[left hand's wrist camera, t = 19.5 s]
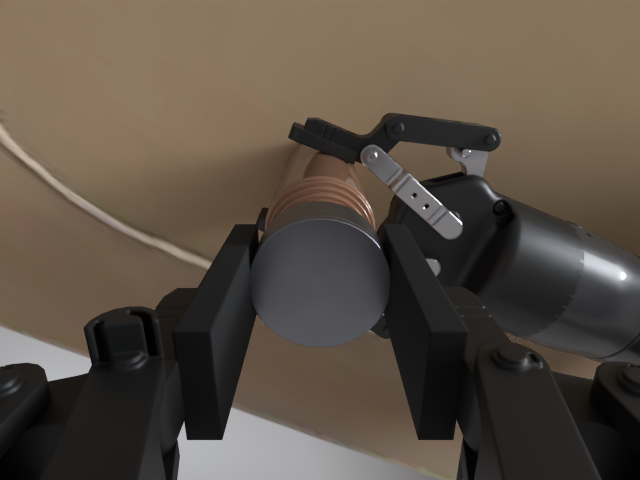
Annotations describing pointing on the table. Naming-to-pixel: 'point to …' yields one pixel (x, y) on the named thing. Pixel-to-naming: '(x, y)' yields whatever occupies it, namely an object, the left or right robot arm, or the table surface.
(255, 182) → the table surface
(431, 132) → the right robot arm
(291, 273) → the cap
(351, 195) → the bottle
